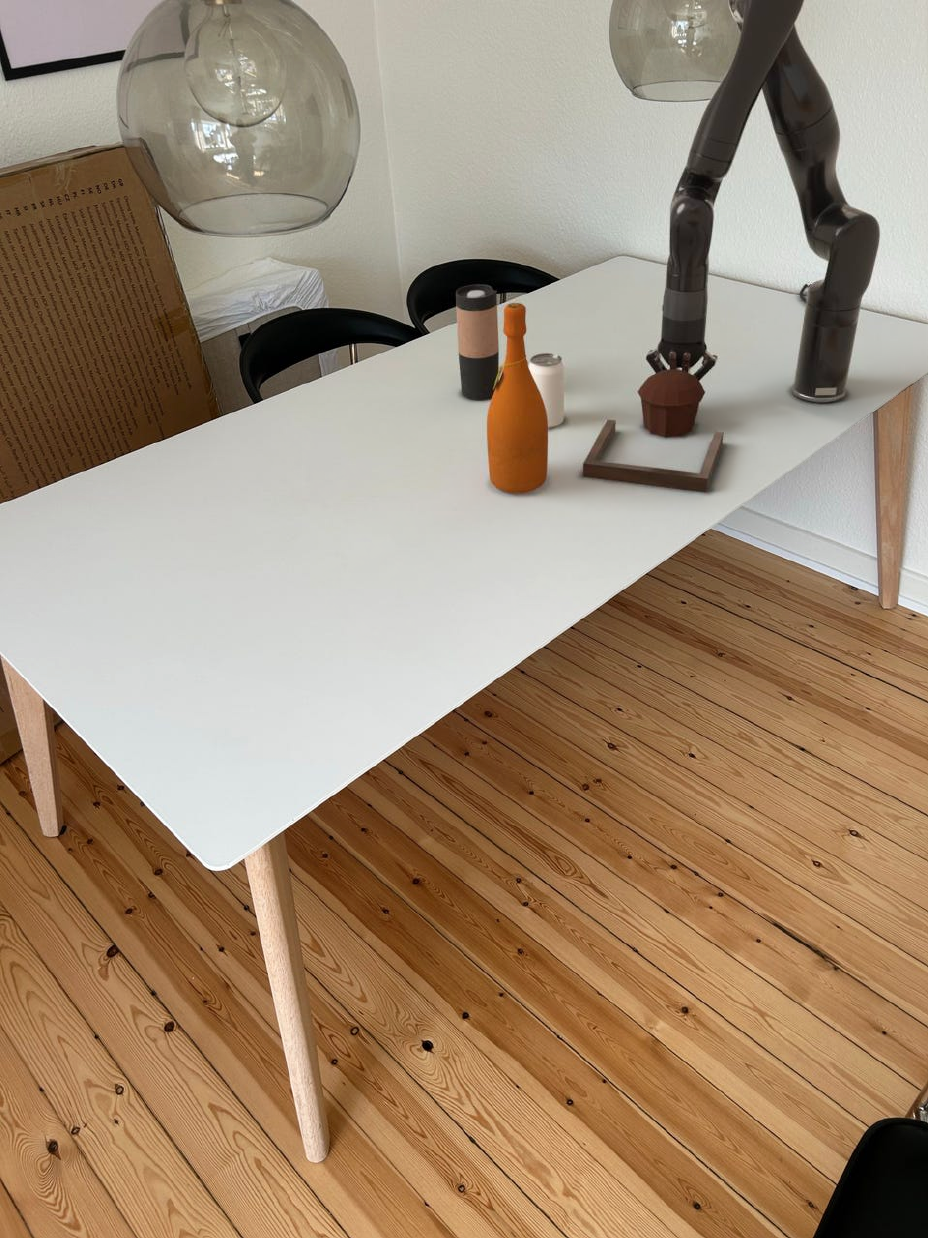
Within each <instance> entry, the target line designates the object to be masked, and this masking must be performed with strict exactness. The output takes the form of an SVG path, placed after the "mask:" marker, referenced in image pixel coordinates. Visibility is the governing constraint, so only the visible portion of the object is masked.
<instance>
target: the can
mask: <svg viewBox="0 0 928 1238" xmlns="http://www.w3.org/2000/svg"><path fill="white" fill-rule="evenodd" d="M529 361H530V362H529V363H528V367H529V370H530V372H531V374H532V377H533V379H534V381H535V383H536V385H537V387H538V389H539V391H540V394H541V396H542V399H543V401H544V405H545V408H546V412H547V419H548V429H554V428H557V427H558V426H560V425H561V424H562V423H563V422H564V420H565V419H564V417H565V367H564V366H565V365H564V363H563V358H562V356H561V355H559V354H556V353H551V352H543V353H537V354H534V355H532V356H531V357H530V359H529Z"/></svg>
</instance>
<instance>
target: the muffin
mask: <svg viewBox="0 0 928 1238" xmlns="http://www.w3.org/2000/svg"><path fill="white" fill-rule="evenodd" d="M667 369H668V370H662V371H660V372H658V373H654V374H651V375H649V376H648V377H647V378H646V379H645V381H643V383H642V385H640V387H639V388H638V390H637V394H638V396H639V399H640V402H641V404H640V405H641V412H642V421H643V428H644V429H645V430H647V431H648V432H649V433H650V434H651V435H654V436H655V435H656V436H660V437H662V438H673V437H676V438H677V437H678V438H679V437H681V438H682V437H683V436H685V435H687V434H689V433H692V432H693V428H694V426H695V423H696V419H697V415H698V410H699V406H700V403H701V402H702V400H703V398H704V396H705V394H706V390H705V389H704V387H703V385H702V384H701V381H699V380H698V379H697V378H696V377H695V376H694V375H693V374H692V373H691V372H690V373H688V372H685V371H683V370H682V369H680V370H678V369H670V368H667Z"/></svg>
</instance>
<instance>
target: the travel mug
mask: <svg viewBox="0 0 928 1238" xmlns="http://www.w3.org/2000/svg"><path fill="white" fill-rule="evenodd" d="M455 303H456V306H455V307H456V325H457V328H456V329H457V347H458V348H457V349H458V362H459V363H458V364H459V373H460V375H459V376H460V385H461V393H462V397H464V398H465V399H468V400H470V401H486V400H491V399H492V396H493V393H494V391H495V389H496V386H497V384H498V382H499V379H500V378H499V379H498V381H497V383H496V385H495V387H494V384H495V381H496V378H497V375H498V368H499V367H500V366H499V365H500V363H499V361H500V358H499V357H500V354H499V353H500V352H499V351H500V346H499V345H500V344H499V322H498V297H497V290H494V289H493V288H492V286H490V285H488V284H469V285H465V286H462V287H458V289H457V290H456V291H455ZM499 369H500V368H499ZM493 388H494V390H493Z"/></svg>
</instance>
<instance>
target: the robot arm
mask: <svg viewBox="0 0 928 1238" xmlns="http://www.w3.org/2000/svg"><path fill="white" fill-rule="evenodd" d="M727 1H728V8H729V10H730V13H731V16H732V18H733V20H734V22H735V23H736V26H737V28H738V30H739V32H740V35H739V38H738V44H737V47H736V49H735V53H734V56H733V58H732V61H731V63H730V65H729V67H728V70H727V72H726V73H725V75H724V77H723V78H722V80H721V82H720V83H719V85H718V87H717V88H716V89H715V92H714V93H713V94H712V96H711V98H710V99H709V101H708V103H707V104H706V107H705V108H704V110H703V112H702V114H701V117H700V120H699V122H698V124H697V128H696V131H695V134H694V137H693V140H692V143H691V146H690V149H689V153H688V157H687V161H686V165H685V167H684V169H683V170H682V173H681V176H680V177H679V180H678V183H677V185H676V187H675V190H674V193H673V195H672V198H671V202H670V206H669V246H668V248H669V249H668V250H669V251H668V252H669V255H668V257H667V263H666V270H665V271H666V272H665V273H666V274H665V288H664V293H663V301H662V307H661V310H662V311H661V312H662V314H661V315H662V316H661V317H662V318H661V319H662V320H661V321H662V322H661V333H660V334H661V335H660V338H661V339H660V341H659V343H658V344H657V347H656V348H654V349H651V350H649V351H648V353H647V354H646V356H645V360H646V362H647V363H648V364H649V366H650V367H651V369H652V370H653V371H654V374H656V373H658V372H660V371H662V370H668V369H678V370H683V371H685V372H688V373H690V374H691V370H692V368H694V367H695V365H696V364H697V363H698V362H699V361H700V360H701V359H702V360H701V366H700V367H699V368H698V369H697V370H696V371H695V372H694V373H693V374H692V375H694V376H695V377H696V378H697V379H698V380H699V382H701V380H702V379H703V378H704V377H705V376H706V375H707V374H708V373H709V372H710V371H711V370H712V369H713V368H714V367H715V366H716V364H717V361H718V356H717V355H716V354H711V353H710V352H709V351H708V350H707V349H708V346H707V344H706V340H705V339H706V338H705V337H706V328H707V327H706V326H707V315H708V314H707V313H708V304H709V303H708V302H709V301H708V300H709V291H708V284H709V272H710V256H709V255H710V250H711V245H712V237H713V230H714V220H715V210H714V208H715V204H716V201H717V200H716V199H717V197H718V195H719V191H720V189H721V187H722V183H723V180H724V178H725V177H727V175H728V174H729V171H730V169H731V167H732V166H733V162H734V160H735V157H736V155H737V151H738V149H739V146H740V143H741V142H742V141H741V140H742V137H743V135H744V133H745V129H746V127H747V123H748V122H749V119H750V117H751V113H752V112H753V109H754V107H755V104H756V102H757V99H758V97H759V96H760V93H761V91H762V96H763V98H764V101H765V104H766V108H767V111H768V114H769V117H770V121H771V126H772V129H773V131H774V134H775V137H776V140H777V143H778V145H779V148H780V152H781V154H782V157H783V159H784V161H785V165H786V167H787V170H788V173H789V177H790V179H791V182H792V185H793V187H794V190H795V193H796V196H797V200H798V204H799V209H800V213H801V214H800V215H801V219H802V223H803V228H804V233H805V237H806V240H807V244H808V246H809V248H810V250H811V251H812V252H813V253H814V255H816V256H817V257H819V258H820V259H822V260H823V261H826V262H827V267H826V271H825V275H824V278H823V279H818V280H816V281H814V282H812V283H811V284H810V285H809V286H808V285H807V284H806V283H805V284H804V285H803V287H802V288H801V289H800V292H799V298H800V299H801V300H802V301H803V302H804V303H805V309H804V313H803V314H804V315H803V322H802V328H801V334H800V342H799V347H798V348H799V349H798V355H797V362H796V369H795V375H794V379H793V380H794V381H793V383H792V384H793V385H792V393H793V395H794V396H795V397H796V398H798V399H801V400H803V401H807V402H812V403H821V404H823V403H825V404H826V403H834V402H838V401H840V400H842V399H843V398H844V397H845V395H846V390H847V389H846V388H847V382H848V376H849V371H850V366H851V361H852V355H853V351H854V345H855V339H856V333H857V329H858V322H859V318H860V317H859V316H860V312H861V311H860V310H861V306H862V300H863V297H864V295H865V293H866V292H867V290H868V288H869V285H870V283H871V280H872V275H873V271H874V268H875V263H876V259H877V255H878V250H879V247H880V238H881V237H880V236H881V228H880V224H879V221H878V220H877V218H876V217H875V216H873V215H872V214H870V213H869V212H866V211H864V210H861V209H859V208H856V207H854V206H851V205H850V204H849V202H848V201H847V200H846V197H845V195H844V193H843V190H842V188H841V185H840V182H839V179H838V175H837V168H836V167H837V160H838V155H839V151H840V144H841V128H840V123H839V119H838V116H837V115H838V114H837V112H836V108H835V105H834V102H833V99H832V96H831V94H830V90H829V89H828V86H827V84H826V82H825V80H824V78H823V76H822V75H821V73H820V71H819V69H818V68H817V65H816V64H815V62H814V61H813V59H812V58H811V56H810V54H809V52H808V51H807V50H806V48H805V46H804V44H803V42H802V40H801V38H800V34H799V32H798V29H797V26H796V25H797V24H796V23H797V20H798V18H799V16H800V13H801V12H802V8H803V7H804V4H805V0H727ZM807 288H808V290H807V295H806V297H805V296H804V292H805V291H806V289H807ZM662 358H663V360H664V362H665V363H666V365H667V366H669V368H667V367H666V365H665V364H664V362H663V361H662V360H661V359H662Z"/></svg>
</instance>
